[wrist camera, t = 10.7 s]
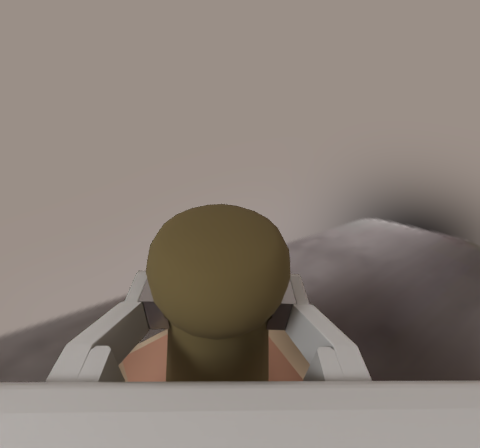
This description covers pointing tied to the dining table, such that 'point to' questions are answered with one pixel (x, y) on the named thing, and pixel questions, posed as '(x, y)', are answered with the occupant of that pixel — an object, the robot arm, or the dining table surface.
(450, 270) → the dining table surface
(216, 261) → the cork
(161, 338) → the wooden frame
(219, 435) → the robot arm
